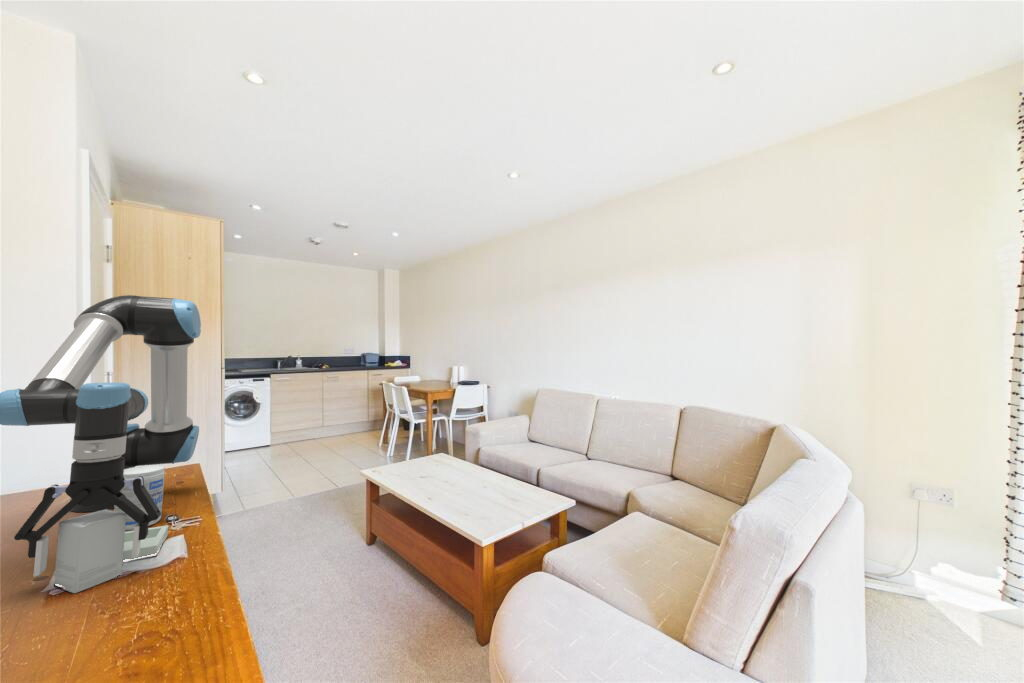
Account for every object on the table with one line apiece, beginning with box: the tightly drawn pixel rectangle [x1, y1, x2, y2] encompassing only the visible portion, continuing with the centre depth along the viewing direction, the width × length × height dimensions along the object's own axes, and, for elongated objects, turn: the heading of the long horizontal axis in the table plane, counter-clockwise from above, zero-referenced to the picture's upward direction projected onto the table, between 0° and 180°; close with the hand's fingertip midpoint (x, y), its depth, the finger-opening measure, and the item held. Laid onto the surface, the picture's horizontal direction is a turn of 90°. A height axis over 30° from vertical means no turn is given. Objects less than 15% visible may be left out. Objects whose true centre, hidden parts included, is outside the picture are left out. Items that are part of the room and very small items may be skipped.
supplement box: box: [53, 509, 126, 594], centre depth 78 cm, size 7×7×13 cm
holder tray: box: [123, 524, 170, 560], centre depth 90 cm, size 12×12×2 cm
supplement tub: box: [113, 464, 166, 532], centre depth 104 cm, size 10×10×15 cm
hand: (90, 564), depth 78 cm, fingers open, 13 cm apart
